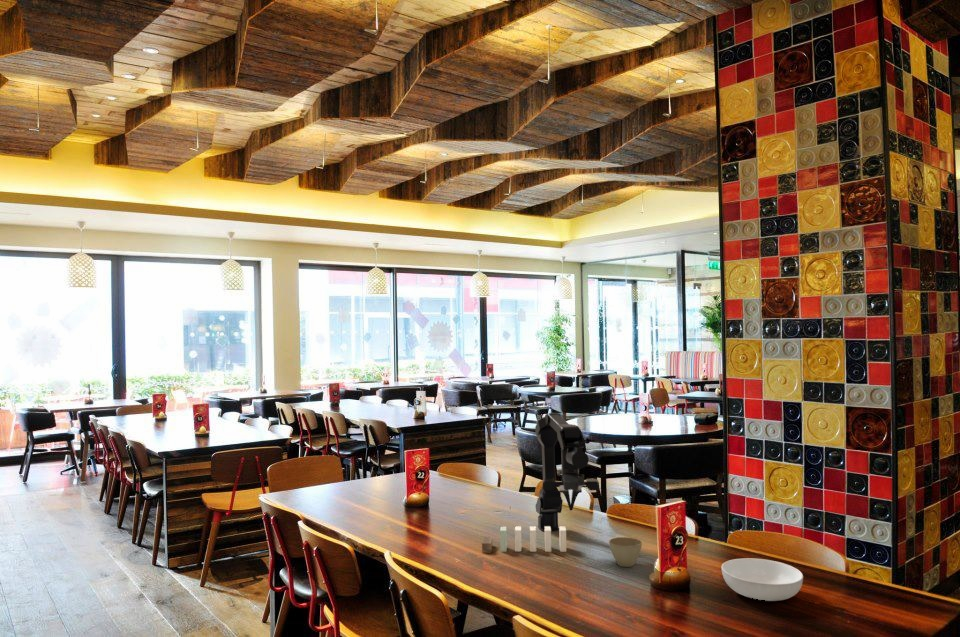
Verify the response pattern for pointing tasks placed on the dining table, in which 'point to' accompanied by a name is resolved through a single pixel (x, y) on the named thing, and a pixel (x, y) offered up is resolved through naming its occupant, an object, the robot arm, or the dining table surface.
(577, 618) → the dining table surface
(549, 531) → the domino
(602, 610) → the dining table surface
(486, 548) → the end block
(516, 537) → the domino
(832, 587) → the dining table surface
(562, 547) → the domino
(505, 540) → the domino sage
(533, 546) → the domino
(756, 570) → the serving bowl
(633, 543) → the flower pot
